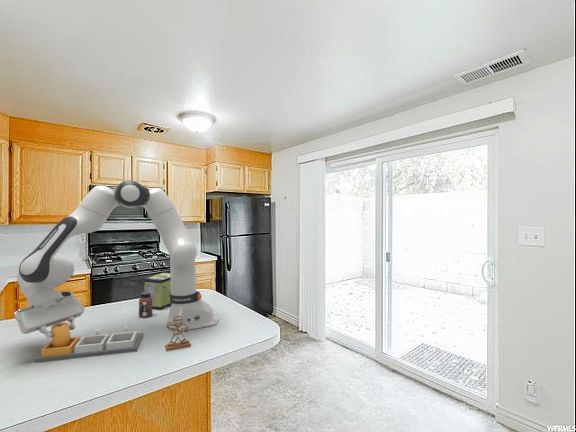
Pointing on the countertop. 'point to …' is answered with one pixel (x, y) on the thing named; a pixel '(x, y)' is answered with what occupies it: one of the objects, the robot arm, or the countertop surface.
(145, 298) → the supplement bottle
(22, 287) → the robot arm
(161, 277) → the protein box
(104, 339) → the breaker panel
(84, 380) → the countertop surface
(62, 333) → the cap
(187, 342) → the gingerbread man figurine
